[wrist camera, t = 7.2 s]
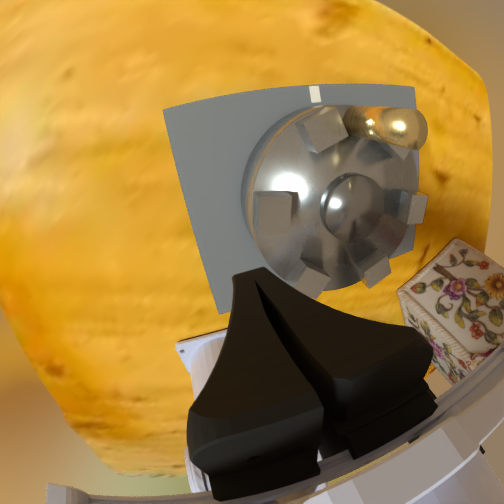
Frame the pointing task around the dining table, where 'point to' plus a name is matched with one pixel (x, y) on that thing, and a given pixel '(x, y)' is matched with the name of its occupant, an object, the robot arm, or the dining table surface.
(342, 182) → the notched steel disc
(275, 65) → the dining table surface
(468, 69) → the dining table surface
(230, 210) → the base plate
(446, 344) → the decorative jar
